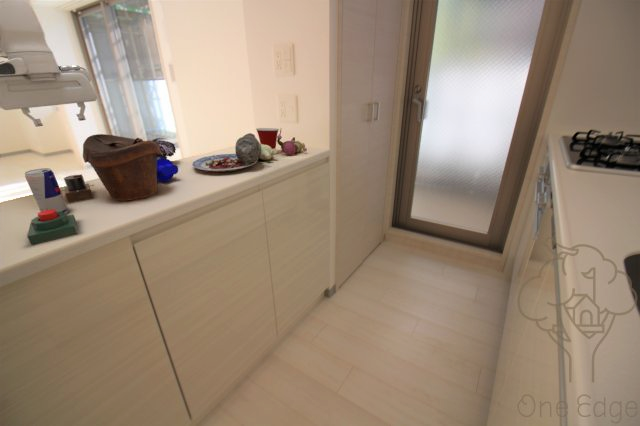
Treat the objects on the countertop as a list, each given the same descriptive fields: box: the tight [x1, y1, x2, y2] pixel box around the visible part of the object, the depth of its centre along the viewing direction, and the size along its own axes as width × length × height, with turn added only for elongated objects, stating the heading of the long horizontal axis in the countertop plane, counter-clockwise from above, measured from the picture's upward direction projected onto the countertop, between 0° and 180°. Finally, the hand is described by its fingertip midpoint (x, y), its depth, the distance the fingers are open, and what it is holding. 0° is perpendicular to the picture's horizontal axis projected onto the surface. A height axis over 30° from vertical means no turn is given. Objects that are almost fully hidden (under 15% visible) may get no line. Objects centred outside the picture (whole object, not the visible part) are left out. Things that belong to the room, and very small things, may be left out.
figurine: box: [277, 129, 308, 157], centre depth 138 cm, size 11×13×15 cm
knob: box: [63, 173, 87, 190], centre depth 87 cm, size 4×4×4 cm
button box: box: [26, 212, 78, 246], centre depth 67 cm, size 8×8×4 cm
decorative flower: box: [151, 137, 177, 159], centre depth 120 cm, size 15×12×15 cm
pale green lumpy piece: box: [257, 144, 278, 161], centre depth 129 cm, size 13×7×15 cm
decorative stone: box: [234, 132, 262, 163], centre depth 118 cm, size 22×10×10 cm
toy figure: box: [157, 158, 179, 183], centre depth 103 cm, size 9×10×15 cm
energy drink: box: [24, 167, 69, 214], centre depth 75 cm, size 5×5×12 cm
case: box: [82, 133, 164, 201], centre depth 87 cm, size 18×20×18 cm
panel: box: [60, 183, 95, 204], centre depth 88 cm, size 9×9×3 cm
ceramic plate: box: [191, 153, 258, 173], centre depth 119 cm, size 26×26×3 cm
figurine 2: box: [276, 136, 296, 152], centre depth 145 cm, size 8×8×6 cm
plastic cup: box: [255, 127, 280, 149], centre depth 138 cm, size 11×11×12 cm
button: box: [37, 209, 58, 221], centre depth 66 cm, size 3×3×2 cm
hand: (61, 123), depth 79 cm, fingers open, 8 cm apart
